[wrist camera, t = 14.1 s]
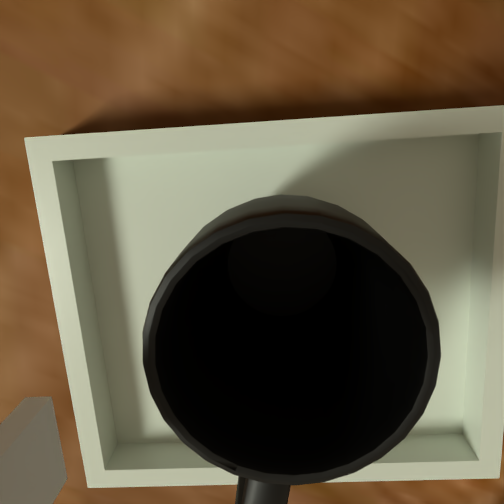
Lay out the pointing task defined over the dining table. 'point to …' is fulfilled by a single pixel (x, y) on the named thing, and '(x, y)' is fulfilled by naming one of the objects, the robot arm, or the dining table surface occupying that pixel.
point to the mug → (290, 345)
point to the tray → (263, 185)
